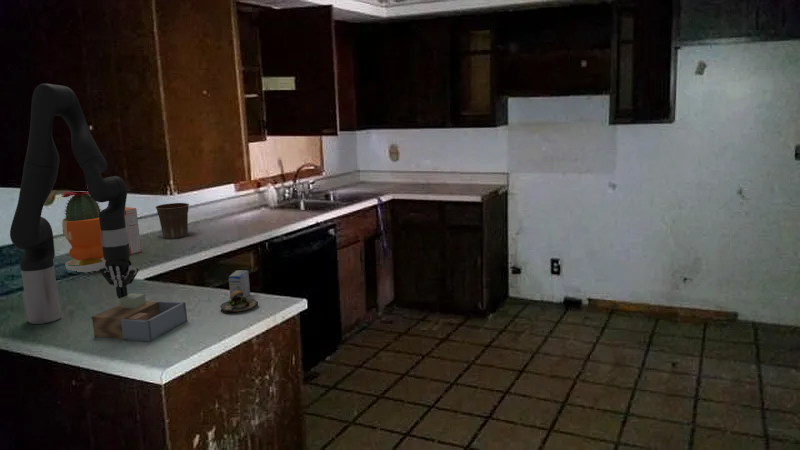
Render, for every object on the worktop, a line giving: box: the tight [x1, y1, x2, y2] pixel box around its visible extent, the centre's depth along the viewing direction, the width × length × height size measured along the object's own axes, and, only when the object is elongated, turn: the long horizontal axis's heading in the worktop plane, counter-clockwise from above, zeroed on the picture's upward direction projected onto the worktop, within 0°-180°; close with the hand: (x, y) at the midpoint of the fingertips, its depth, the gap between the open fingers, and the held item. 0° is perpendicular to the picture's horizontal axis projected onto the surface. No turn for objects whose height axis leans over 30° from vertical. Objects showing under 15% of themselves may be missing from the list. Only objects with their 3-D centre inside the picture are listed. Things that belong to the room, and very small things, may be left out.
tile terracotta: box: [128, 313, 148, 321], centre depth 192 cm, size 5×5×3 cm
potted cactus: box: [60, 191, 106, 273], centre depth 273 cm, size 22×22×35 cm
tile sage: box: [119, 292, 147, 308], centre depth 200 cm, size 5×5×3 cm
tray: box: [121, 300, 188, 343], centre depth 195 cm, size 9×18×6 cm, turn 163°
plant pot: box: [155, 202, 190, 240], centre depth 334 cm, size 16×16×16 cm
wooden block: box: [91, 300, 160, 339], centre depth 198 cm, size 11×16×6 cm
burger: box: [220, 289, 259, 315], centre depth 212 cm, size 12×12×8 cm
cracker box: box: [124, 206, 143, 255], centre depth 302 cm, size 14×6×21 cm, turn 55°
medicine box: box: [228, 269, 251, 299], centre depth 224 cm, size 8×4×9 cm, turn 175°
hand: (122, 297), depth 201 cm, fingers closed
